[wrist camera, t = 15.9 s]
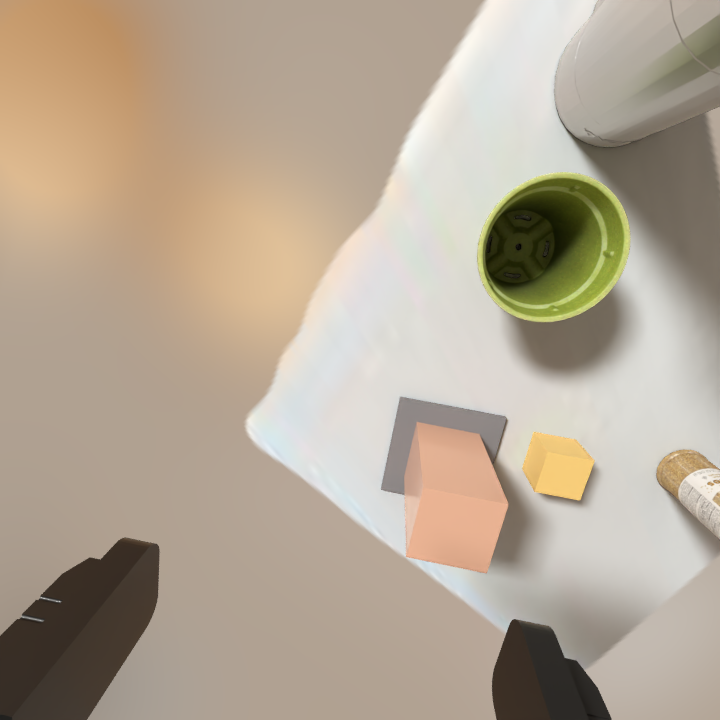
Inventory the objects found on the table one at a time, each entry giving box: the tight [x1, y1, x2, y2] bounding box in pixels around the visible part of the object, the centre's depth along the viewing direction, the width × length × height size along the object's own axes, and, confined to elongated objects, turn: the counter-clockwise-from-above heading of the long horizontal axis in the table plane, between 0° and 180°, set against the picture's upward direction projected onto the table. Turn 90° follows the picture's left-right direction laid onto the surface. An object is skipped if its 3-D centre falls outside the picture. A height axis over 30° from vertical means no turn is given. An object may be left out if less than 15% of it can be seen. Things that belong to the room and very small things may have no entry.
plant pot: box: [477, 172, 630, 322], centre depth 31 cm, size 9×9×9 cm
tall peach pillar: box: [404, 422, 509, 573], centre depth 35 cm, size 6×6×11 cm
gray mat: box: [381, 397, 506, 494], centre depth 41 cm, size 10×10×1 cm
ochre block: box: [522, 432, 594, 501], centre depth 38 cm, size 4×4×4 cm
